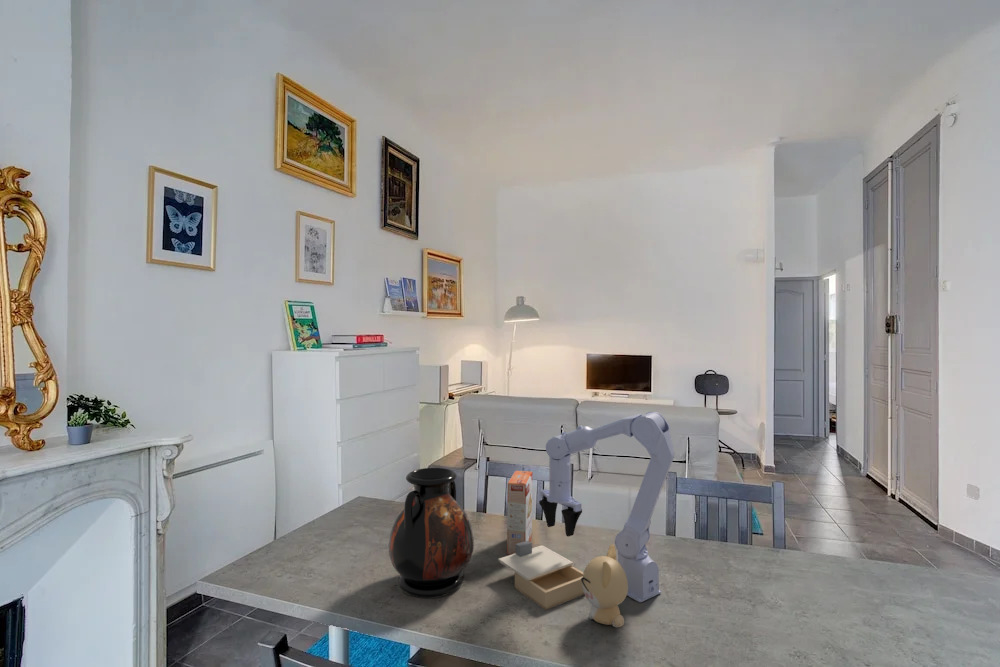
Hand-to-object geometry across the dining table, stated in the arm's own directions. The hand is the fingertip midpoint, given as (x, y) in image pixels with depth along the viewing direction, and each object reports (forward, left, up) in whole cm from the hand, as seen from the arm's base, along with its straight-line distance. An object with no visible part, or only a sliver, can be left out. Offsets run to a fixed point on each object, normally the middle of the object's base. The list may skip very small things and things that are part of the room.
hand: (560, 530), depth 131 cm
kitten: (-23, +7, -11) cm, 26 cm away
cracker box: (+18, 0, -11) cm, 21 cm away
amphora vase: (+13, +32, -11) cm, 36 cm away
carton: (-7, +9, -10) cm, 15 cm away
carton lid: (-1, +9, -6) cm, 11 cm away
